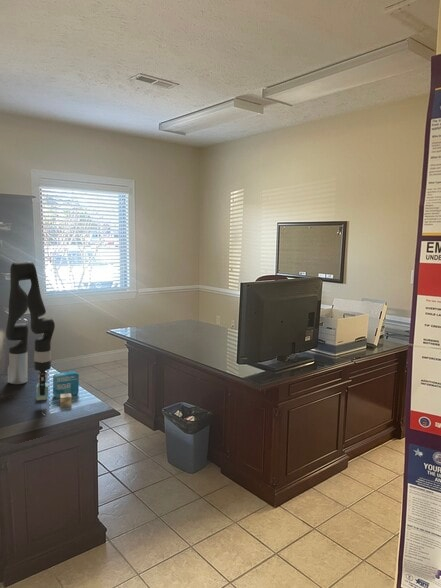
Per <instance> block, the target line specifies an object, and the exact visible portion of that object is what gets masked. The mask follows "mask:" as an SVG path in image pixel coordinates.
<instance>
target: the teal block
mask: <svg viewBox="0 0 441 588" xmlns="http://www.w3.org/2000/svg"><path fill="white" fill-rule="evenodd" d="M41 385H44V384H41ZM39 386H40V383H39V382H38V383H36V391H37V397H46V396H47V397H49V382H46V383H45V395H40V387H39Z"/></svg>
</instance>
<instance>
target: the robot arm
mask: <svg viewBox="0 0 441 588" xmlns="http://www.w3.org/2000/svg"><path fill="white" fill-rule="evenodd" d="M9 270H10V272H9V275H10V289H9V290H10V291H9V299H8V315H7V324H6V329H5V337H6V339H7V341H19V342H18V343H16V344H13V345H11V346H10V347H9V351H8V356H9V357H8V358H9V359H8V360H9V361H8V363H9V364H8V365H7V383H8V384H10V385H23V384H26V383H27V382H28V362H29V361H28V352H29V351H28V345H29V343H28V339H29V326H28V324H27V323H25V322H20V323H17V322H18V320H20V319H21V317H23V316H24V315H25V314H26V312H27V311H28V310H29V314H30V330H31V332H32V333H33V334H34V335H39V334H40V335H41V334H42V335H41V336H40V337H37V338H35V341H34V354H33V369H34V370H35V371H37V377H38V384H39V383H40V386H39V387H40V395H45V383H47V377H48V371H49V370H51V368H52V353H51V352H52V350H51V343H52V339H53V333H54V331H55V328H56V327H55V321H54V320H53V319H52V318H51V317H46V318H45V317H44V318H40V317H42V316H44V315H45V314H46V313H47V312H46V311H47V310H46V307H45V303H44V301H43V298H42V294H41V289H40V284H39V279H38V273H37V272H38V271H37V268H36V266H35V263H34V262H33V261H30V260H28V261H27V260H26V261H16V262H12V263H11V265H10V269H9ZM27 280H28V281H29V280H30V289H29V291H28V294H27V292H25V290H24V289H23V288H22V287H21V285H20V283H19V282H21V281H27ZM41 384H44V385H41Z"/></svg>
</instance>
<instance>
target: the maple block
mask: <svg viewBox="0 0 441 588" xmlns="http://www.w3.org/2000/svg"><path fill="white" fill-rule="evenodd" d="M59 402H60V403H59V404H60V405H59V406H60V408H68V407H72V396H71V393H68V394H60V398H59Z"/></svg>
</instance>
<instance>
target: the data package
mask: <svg viewBox="0 0 441 588" xmlns="http://www.w3.org/2000/svg"><path fill="white" fill-rule="evenodd" d="M79 378H80V375H79V373H77V372H76V371H75V370H73V371H64V372H58V373H54V374H53V376H52V394H53V396H54V397H55V399H56V398H57V399H60V394H68V393H71V397H73V396H77V395H78V394H79V392H80V391H79V388H80V384H79V383H80V379H79Z"/></svg>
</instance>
